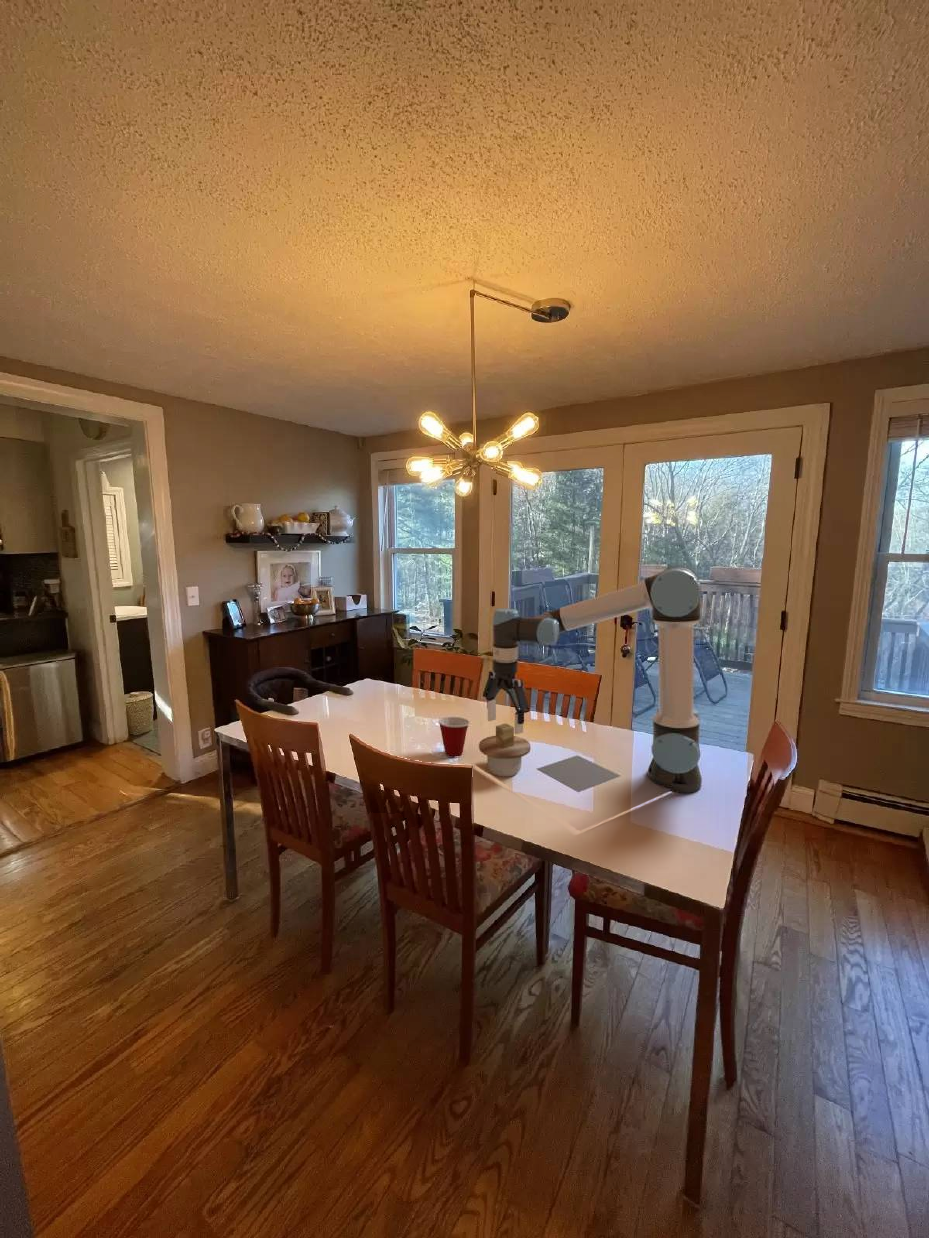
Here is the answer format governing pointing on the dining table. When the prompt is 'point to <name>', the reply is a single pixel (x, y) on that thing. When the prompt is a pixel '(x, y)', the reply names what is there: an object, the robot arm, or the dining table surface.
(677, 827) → the dining table surface
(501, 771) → the teacup
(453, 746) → the plastic cup
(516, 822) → the dining table surface
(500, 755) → the lid
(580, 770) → the mat
